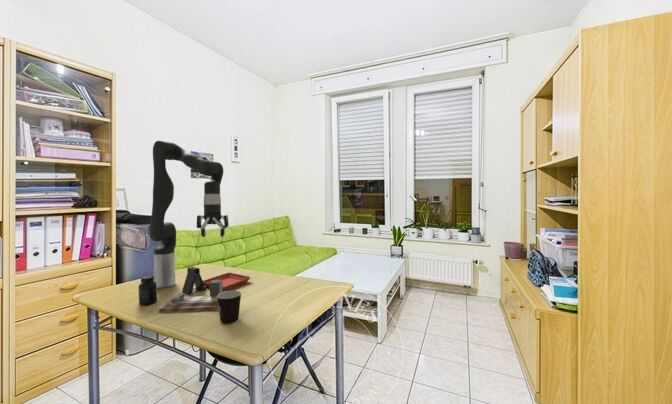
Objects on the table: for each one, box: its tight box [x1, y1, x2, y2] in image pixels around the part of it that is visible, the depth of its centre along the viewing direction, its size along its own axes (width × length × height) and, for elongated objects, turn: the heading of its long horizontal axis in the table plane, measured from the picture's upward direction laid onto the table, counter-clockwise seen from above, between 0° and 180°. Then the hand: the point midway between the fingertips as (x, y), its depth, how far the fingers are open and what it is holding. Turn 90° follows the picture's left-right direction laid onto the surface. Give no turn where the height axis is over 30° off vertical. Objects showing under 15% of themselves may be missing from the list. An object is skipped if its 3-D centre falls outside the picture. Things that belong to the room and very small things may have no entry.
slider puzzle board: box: [158, 292, 219, 313], centre depth 124 cm, size 28×13×4 cm, turn 95°
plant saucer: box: [203, 272, 251, 292], centre depth 152 cm, size 18×18×3 cm
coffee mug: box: [217, 290, 242, 325], centre depth 108 cm, size 12×9×10 cm
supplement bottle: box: [137, 274, 158, 307], centre depth 126 cm, size 7×7×12 cm
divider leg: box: [209, 280, 223, 301], centre depth 124 cm, size 4×7×8 cm, turn 5°
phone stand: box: [181, 266, 207, 296], centre depth 141 cm, size 9×6×12 cm, turn 146°
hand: (212, 236), depth 138 cm, fingers open, 8 cm apart
